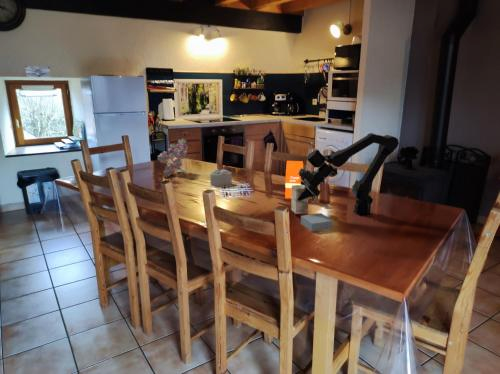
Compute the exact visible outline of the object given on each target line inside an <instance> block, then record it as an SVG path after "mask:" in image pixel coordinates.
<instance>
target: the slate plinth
mask: <svg viewBox="0 0 500 374" xmlns="http://www.w3.org/2000/svg"><path fill="white" fill-rule="evenodd" d="M300 224H301V225H302V226H303V227H305V228H306V229H307V230H309V231H310V232H312V233H313V232H319V231H324V230H325V231H326V230H331V229H333V220H332V218H331V219H330V218H329V217H327V216H326V215H325V214H323V213H312V214H304V215H300Z"/></svg>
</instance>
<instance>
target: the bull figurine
mask: <svg viewBox="0 0 500 374" xmlns="http://www.w3.org/2000/svg"><path fill="white" fill-rule="evenodd" d="M319 191H320V193H322V191H321V190H319ZM319 196H320V195H318V196H316V195H315V196H312V197H309V198H308V202H309V201H310V200H311V204H314V201H315V200H316V205H318V204H319Z"/></svg>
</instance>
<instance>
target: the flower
mask: <svg viewBox="0 0 500 374" xmlns="http://www.w3.org/2000/svg"><path fill="white" fill-rule="evenodd" d="M181 137H182V136H181ZM177 140H178V141H177V144H175V143H172V144H171V143H170V144H169V148H168V149H167V151H165V150H164V151H163V152H161V153H159V155H157V161H159V162H160V163H166V164H167V165H166V166H165V170H163V174H164V175H165V176H166V177H170V176H171V175H172V174H175V172H176V173H183V174H186V173H185V171H186V169H185V167H183V168H181V167H182V165H183V163H182V160H184V159H185V158H186V155H187V154H188V150H187V149H188V147H189V146H188V145H187V144H186V143H187V140H186V139H184V138H183V137H182V138H181V140H180V139H177ZM168 152H169V153H170V152H171V153H170V154H168ZM174 158H175V159H174ZM173 159H174V160H173ZM169 160H171V162H169ZM174 168H175V169H177V171H175V169H174ZM173 169H174V170H173Z"/></svg>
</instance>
